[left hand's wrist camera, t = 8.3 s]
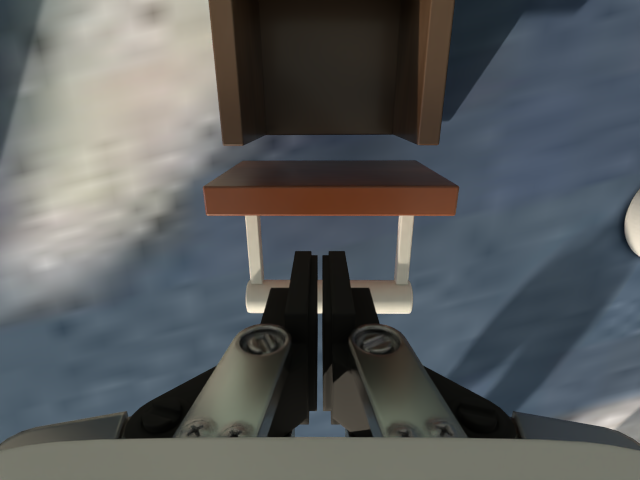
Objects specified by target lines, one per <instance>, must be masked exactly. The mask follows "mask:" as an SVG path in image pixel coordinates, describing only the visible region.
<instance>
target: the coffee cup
mask: <svg viewBox="0 0 640 480" xmlns="http://www.w3.org/2000/svg"><path fill="white" fill-rule="evenodd" d="M624 229H625V236H626V240H627V242H628V245H629V246H630V248H631V249H632V250H633V252H634V253H635V254H637V255H638V256H639V257H640V189H639V190H638V192H637V193H636V195H635V196H634V198H633V200H632V201H631V203H630V206H629V208H628V211H627V214H626V218H625V228H624Z"/></svg>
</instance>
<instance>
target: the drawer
mask: <svg viewBox="0 0 640 480" xmlns="http://www.w3.org/2000/svg"><path fill="white" fill-rule="evenodd" d="M454 5H455V0H209V10H210V20H211V30H212V40H213V50H214V61H215V71H216V81H217V91H218V101H219V111H220V121H221V131H222V141H223V145H224V146H243V145H245V144H247V143H249V142H251V141H254V140H256V139H258V138H260V137H262V136H264V135H396V136H398V137H401V138H403V139H405V140H408V141H410V142H413V143H415V144H418V145H438V144H439V140H440V131H441V122H442V113H443V104H444V95H445V86H446V77H447V68H448V59H449V50H450V41H451V32H452V23H453V14H454ZM458 192H459V186H458V185H456V184H454V183H453V182H451V181H449V180H447V179H446V178H444V177H442V176H441V175H439V174H437V173H436V172H434V171H432V170H431V169H429V168H427V167H426V166H424V165H422V164H421V163H419V162H417V161H415V160H395V161H242V162H240V163H239V164H237V165H236V166H234V167H233V168H231V169H229V170H228V171H226V172H225V173H223V174H222V175H220V176H219V177H217V178H216V179H214V180H213V181H211V182H209V183H208V184H206V185H205V186H203V193H204V201H205V209H206V215H208V216H245V219H246V231H247V243H248V255H249V267H250V279H251V280H249V282H248V285H247V289H246V307H247V311H248V312H249V313H264V310H265V306H266V302H267V299H268V295H269V292H270V289H271V288H289V285H290V280H264V270H263V255H262V241H261V226H260V216H399V224H398V237H397V249H396V262H395V275H394V280H350V285H351V288H369V289H370V292H371V295H372V299H373V302H374V306H375V310H376V313H386V314H409V313H411V310H412V306H413V292H412V287H411V283H410V282H409V281H408V276H409V265H410V255H411V244H412V233H413V223H414V216H454V215H455V214H456V207H457V200H458ZM318 313H322V280H318Z"/></svg>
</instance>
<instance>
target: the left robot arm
mask: <svg viewBox="0 0 640 480" xmlns="http://www.w3.org/2000/svg"><path fill="white" fill-rule="evenodd" d="M317 347H318V264H317V255H311V251H295V256H294V262H293V268H292V273H291V279H290V285H289V288H271V289H270V292H269V295H268V299H267V302H266V306H265V310H264V313H263V317H262V320H261V324H258V325H253V326H250V327H248V328H245V329H244V330H242V331H241V332H239V333H238V334H237V335H236V337H235V338H234V339H233V341H232V343H231V344H230V346H229V347H228V349H227V351H226V352H225V354H224V355H223V357H222V359H221V360H220V362H219V363H218V365H217V366H215V367H213V368H212V369H210V370H208V371H206V372H204V373H202V374H200V375H198V376H197V377H195V378H193V379H191V380H189V381H187V382H185V383H183V384H181V385H180V386H178V387H176V388H174V389H172V390H170V391H168V392H166V393H165V394H163V395H161V396H159V397H157V398H155V399H153V400H151V401H150V402H148V403H147V404H145V405H144V406H142V407H140V408H139V409H138V410H137V411H136V412H135V413H134V414H133V415H132V416H131V417H128V413H127V411H125V412H119V413H114V414H108V415H102V416H97V417H91V418H85V419H80V420H74V421H68V422H63V423H57V424H51V425H46V426H40V427H35V428H31V429H28V430H25V431H21V432H19V433H17V434H15V435H14V436H12V437H10V438H8V439H6V440H5V441H3V442H2V443H1V444H0V480H640V444H639V443H638V442H637V441H635V440H634V439H632V438H630V437H628V436H626V435H625V434H623V433H621V432H619V431H615V430H612V429H609V428H605V427H600V426H594V425H589V424H583V423H577V422H572V421H566V420H560V419H555V418H549V417H543V416H538V415H532V414H526V413H521V412H515V411H513V413H512V417H509V416H508V415H507V414H506V413H505V412H504V411H503V410H502V409H501V408H500V407H498V406H496V405H495V404H493V403H492V402H490V401H489V400H487V399H485V398H483V397H481V396H479V395H477V394H475V393H474V392H472V391H470V390H468V389H466V388H464V387H462V386H460V385H459V384H457V383H455V382H453V381H451V380H449V379H447V378H445V377H443V376H442V375H440V374H438V373H436V372H434V371H432V370H430V369H428V368H427V367H425V366H423V365H422V363H421V362H420V360H419V359H418V357H417V355H416V354H415V352H414V351H413V349H412V347H411V346H410V344H409V343H408V341H407V339H406V338H405V337H404V335H403V334H402V333H401V332H399V331H398V330H396V329H395V328H392V327H390V326H387V325H382V324H379V320H378V317H377V313H376V310H375V306H374V302H373V299H372V295H371V292H370V289H369V288H351V285H350V279H349V273H348V268H347V262H346V256H345V251H329V255H323V264H322V347H323V411H331V424H341V425H342V426H343V427H345V437H295V427H297V426H298V425H299V424H309V411H317Z"/></svg>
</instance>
